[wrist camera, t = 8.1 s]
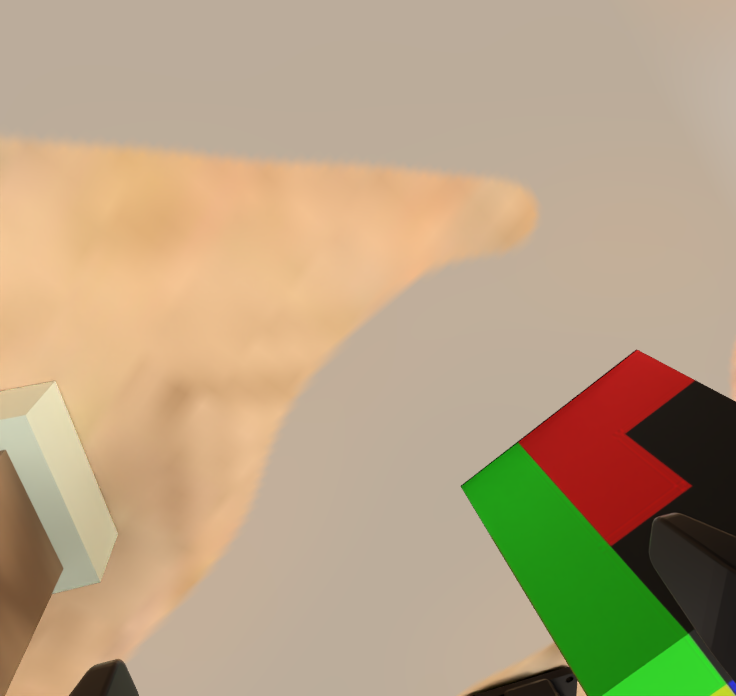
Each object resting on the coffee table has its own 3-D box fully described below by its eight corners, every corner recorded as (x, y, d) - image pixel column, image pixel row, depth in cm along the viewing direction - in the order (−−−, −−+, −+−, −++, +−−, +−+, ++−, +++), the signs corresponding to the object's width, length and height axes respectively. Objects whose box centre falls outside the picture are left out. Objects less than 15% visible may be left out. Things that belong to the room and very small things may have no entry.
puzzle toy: (710, 479, 26) (948, 652, 17) (558, 591, 27) (709, 813, 18) (636, 349, 22) (895, 486, 13) (460, 485, 23) (590, 702, 14)
